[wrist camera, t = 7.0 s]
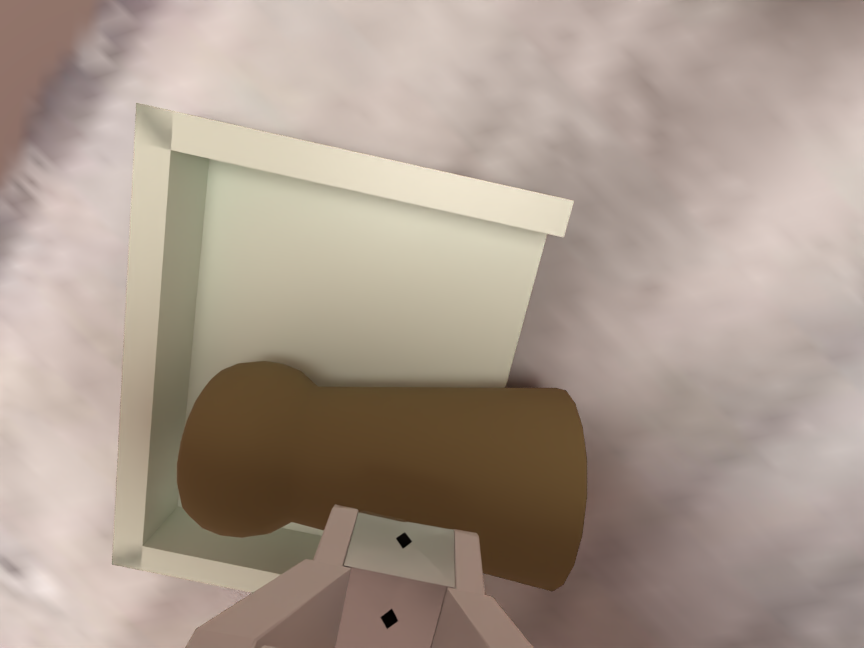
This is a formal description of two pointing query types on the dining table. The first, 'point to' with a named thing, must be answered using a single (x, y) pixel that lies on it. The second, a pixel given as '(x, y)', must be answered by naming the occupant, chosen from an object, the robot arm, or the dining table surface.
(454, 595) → the robot arm
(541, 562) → the brown chess pawn
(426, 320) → the tray
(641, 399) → the dining table surface
